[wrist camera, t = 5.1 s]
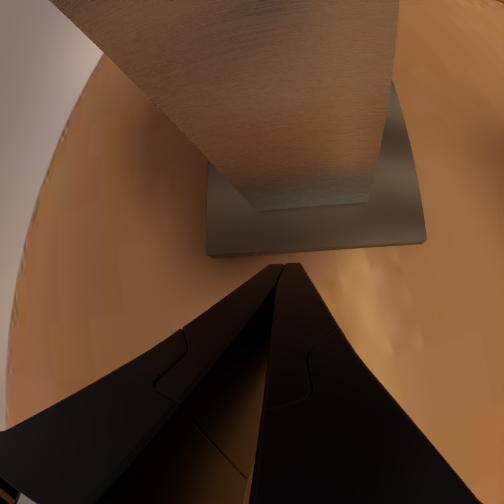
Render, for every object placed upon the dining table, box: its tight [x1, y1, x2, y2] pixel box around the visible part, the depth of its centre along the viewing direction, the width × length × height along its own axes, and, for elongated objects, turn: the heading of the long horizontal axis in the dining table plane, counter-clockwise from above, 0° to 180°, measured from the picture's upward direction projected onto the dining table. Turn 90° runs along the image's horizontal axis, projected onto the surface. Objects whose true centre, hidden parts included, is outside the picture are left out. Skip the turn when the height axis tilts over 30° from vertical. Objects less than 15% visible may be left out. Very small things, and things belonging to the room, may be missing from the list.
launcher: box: [206, 80, 427, 258], centre depth 18 cm, size 28×14×10 cm, turn 1°
